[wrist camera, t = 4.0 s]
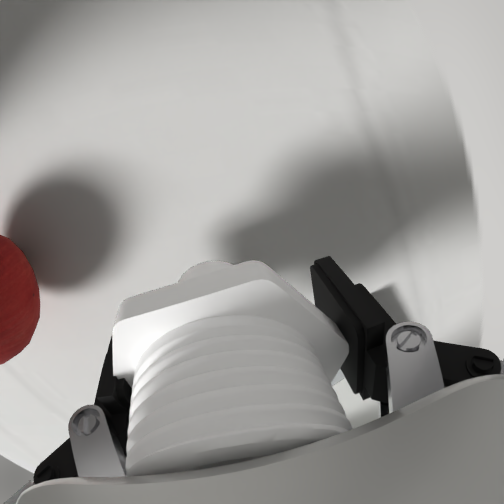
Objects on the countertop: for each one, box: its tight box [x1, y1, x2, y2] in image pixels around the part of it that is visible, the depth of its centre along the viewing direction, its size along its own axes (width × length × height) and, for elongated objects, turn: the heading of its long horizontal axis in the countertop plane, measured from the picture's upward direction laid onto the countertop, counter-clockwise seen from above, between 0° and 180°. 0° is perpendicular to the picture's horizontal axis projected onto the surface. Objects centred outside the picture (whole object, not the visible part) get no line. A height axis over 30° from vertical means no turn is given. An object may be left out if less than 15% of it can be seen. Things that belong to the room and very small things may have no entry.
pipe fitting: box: [112, 260, 352, 476], centre depth 9 cm, size 6×7×8 cm
